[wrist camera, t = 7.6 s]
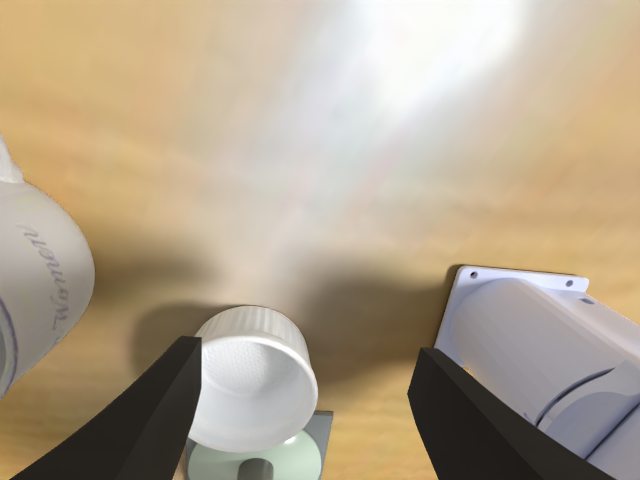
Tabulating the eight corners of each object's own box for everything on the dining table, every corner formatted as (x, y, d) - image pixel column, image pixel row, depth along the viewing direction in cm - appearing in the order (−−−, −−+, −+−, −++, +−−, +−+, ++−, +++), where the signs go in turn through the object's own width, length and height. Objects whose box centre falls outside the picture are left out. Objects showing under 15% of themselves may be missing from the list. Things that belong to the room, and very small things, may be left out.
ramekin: (191, 287, 21) (167, 328, 17) (325, 306, 22) (333, 348, 18) (182, 392, 24) (159, 448, 20) (301, 403, 25) (302, 458, 21)
